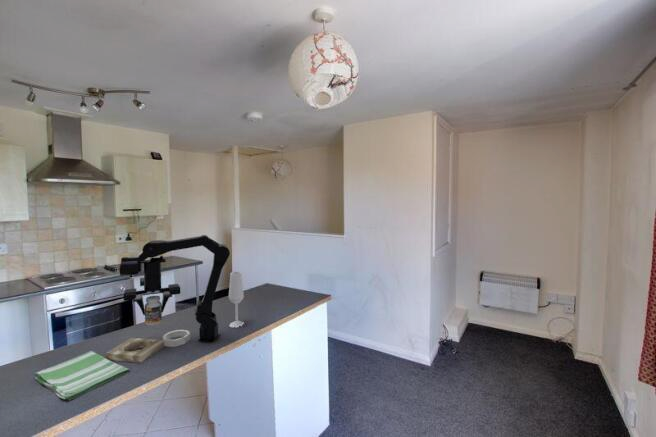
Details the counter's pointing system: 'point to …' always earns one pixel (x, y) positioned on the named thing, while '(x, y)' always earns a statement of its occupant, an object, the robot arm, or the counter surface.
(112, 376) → the dish towel
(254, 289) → the counter surface
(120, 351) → the socket plate
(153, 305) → the pill bottle
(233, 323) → the champagne flute
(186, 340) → the octagonal ring
